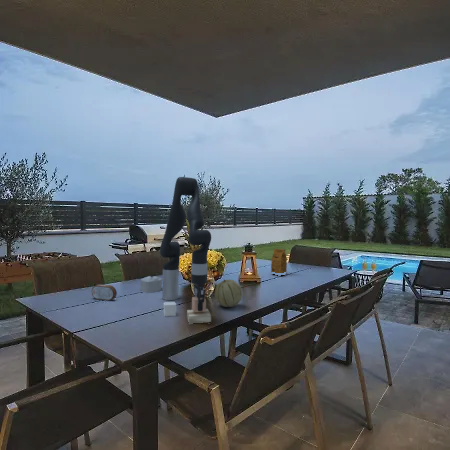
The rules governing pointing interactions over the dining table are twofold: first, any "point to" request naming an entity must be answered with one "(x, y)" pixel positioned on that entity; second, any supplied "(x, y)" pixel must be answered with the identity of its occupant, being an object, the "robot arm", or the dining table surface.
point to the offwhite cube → (169, 309)
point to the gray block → (198, 316)
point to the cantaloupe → (228, 293)
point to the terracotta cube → (195, 304)
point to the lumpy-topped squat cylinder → (151, 284)
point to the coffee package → (279, 261)
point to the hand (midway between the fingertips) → (198, 308)
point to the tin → (104, 292)
